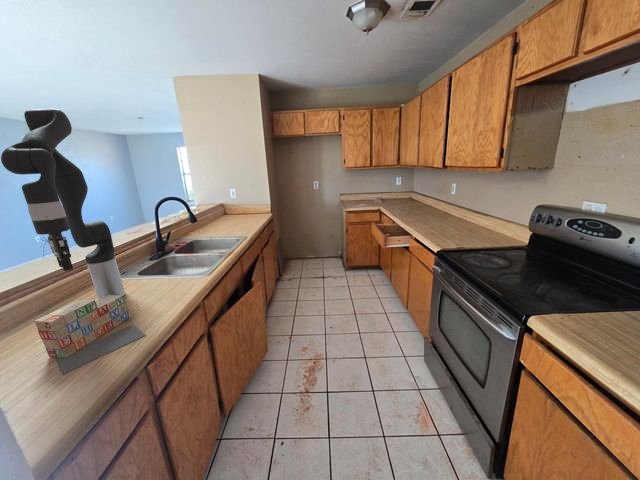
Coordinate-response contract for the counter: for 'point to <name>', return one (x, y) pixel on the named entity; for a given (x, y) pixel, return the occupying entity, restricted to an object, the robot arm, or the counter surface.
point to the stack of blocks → (80, 324)
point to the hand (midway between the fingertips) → (66, 268)
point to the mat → (99, 348)
